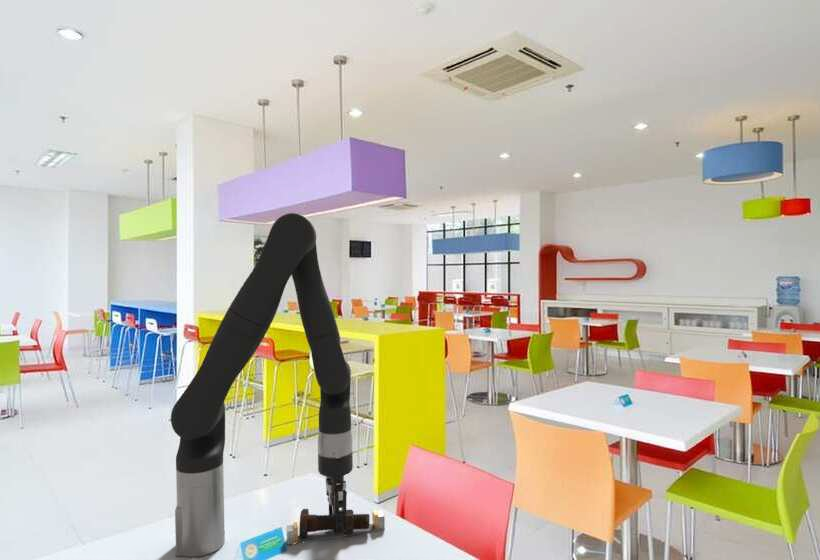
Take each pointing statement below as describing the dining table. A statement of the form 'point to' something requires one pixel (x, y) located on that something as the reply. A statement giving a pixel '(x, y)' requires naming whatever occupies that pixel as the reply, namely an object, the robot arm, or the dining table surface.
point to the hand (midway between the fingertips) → (336, 525)
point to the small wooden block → (378, 520)
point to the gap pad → (331, 535)
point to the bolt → (331, 522)
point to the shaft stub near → (292, 533)
